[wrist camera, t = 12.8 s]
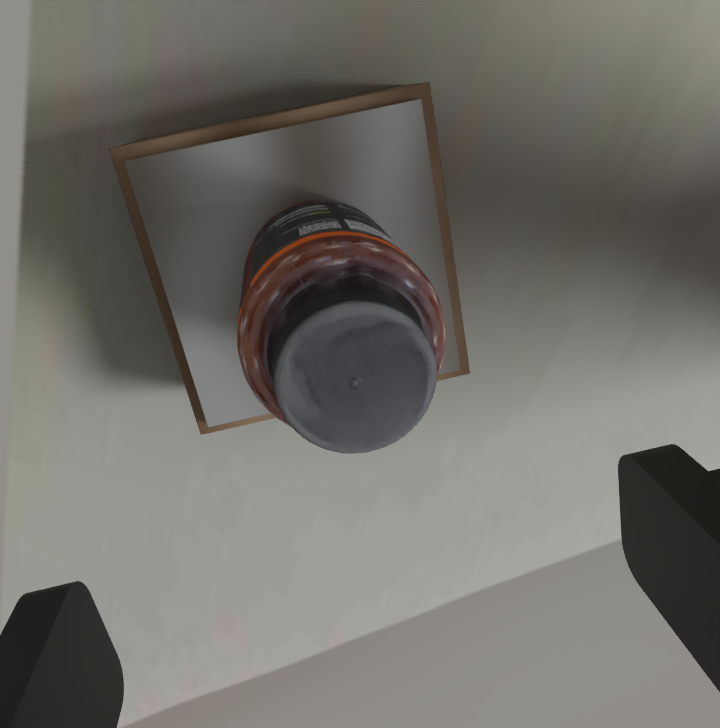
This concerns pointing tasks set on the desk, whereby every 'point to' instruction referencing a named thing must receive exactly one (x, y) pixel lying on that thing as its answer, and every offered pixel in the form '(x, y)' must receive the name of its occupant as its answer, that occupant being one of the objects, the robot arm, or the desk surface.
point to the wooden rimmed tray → (265, 199)
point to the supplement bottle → (338, 328)
